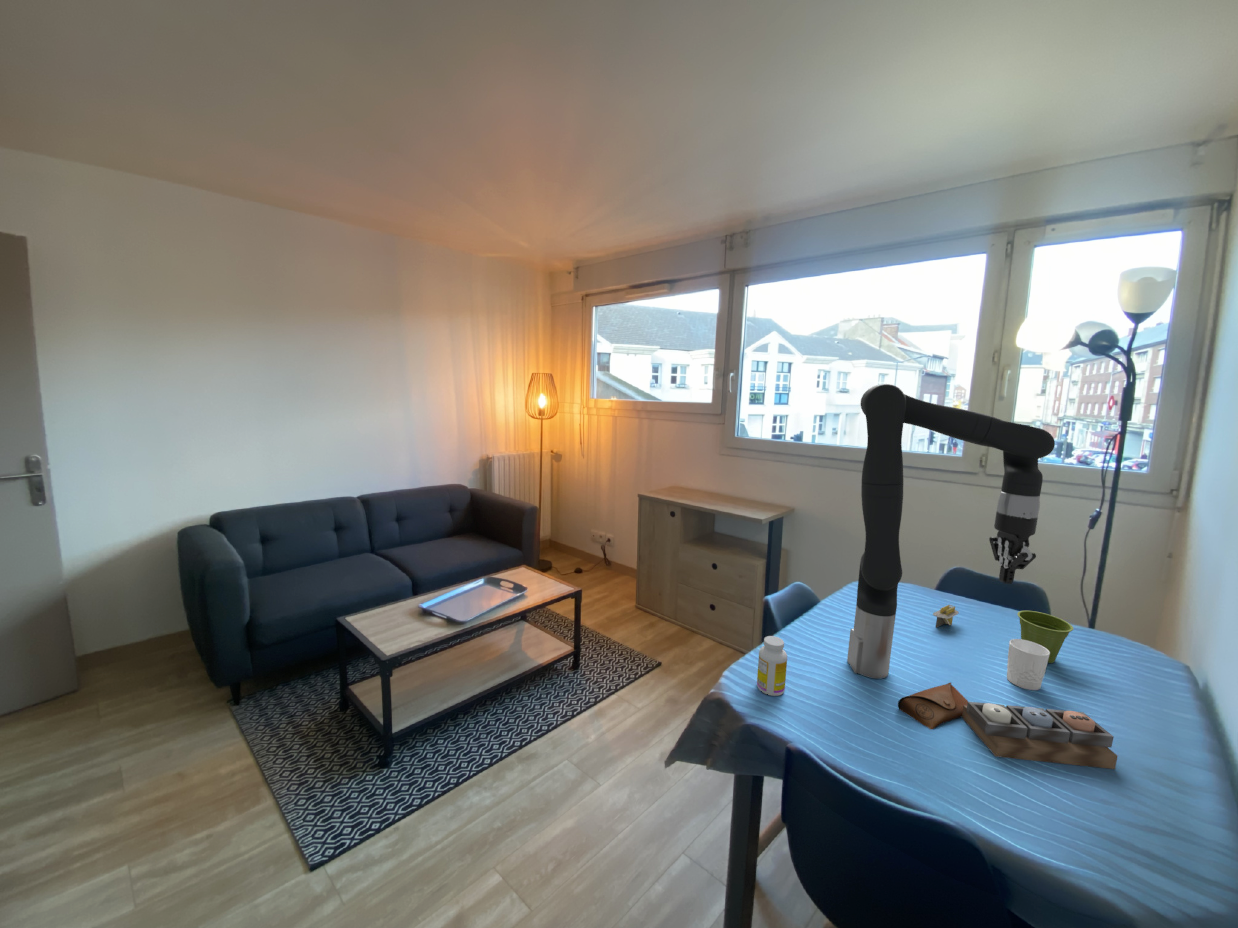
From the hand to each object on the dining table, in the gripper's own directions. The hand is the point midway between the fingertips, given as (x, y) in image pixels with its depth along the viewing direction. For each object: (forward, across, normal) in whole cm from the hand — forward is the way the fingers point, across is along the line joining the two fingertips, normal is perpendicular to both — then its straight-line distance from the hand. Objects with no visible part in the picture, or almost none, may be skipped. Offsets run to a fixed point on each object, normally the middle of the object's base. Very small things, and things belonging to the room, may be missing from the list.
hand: (1005, 582), depth 115 cm
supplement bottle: (+29, +7, -54) cm, 62 cm away
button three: (+26, +17, +7) cm, 32 cm away
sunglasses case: (+30, +9, -16) cm, 35 cm away
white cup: (+29, -6, +12) cm, 32 cm away
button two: (+26, +17, -1) cm, 31 cm away
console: (+29, +17, -1) cm, 34 cm away
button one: (+26, +17, -9) cm, 32 cm away
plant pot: (+29, -20, +25) cm, 43 cm away
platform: (+30, -36, +8) cm, 47 cm away
